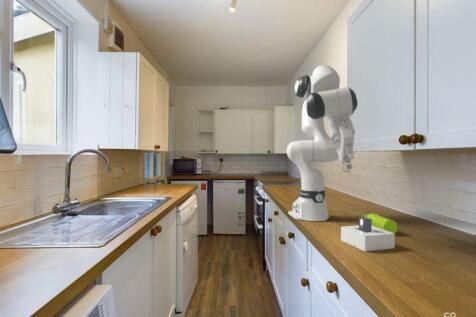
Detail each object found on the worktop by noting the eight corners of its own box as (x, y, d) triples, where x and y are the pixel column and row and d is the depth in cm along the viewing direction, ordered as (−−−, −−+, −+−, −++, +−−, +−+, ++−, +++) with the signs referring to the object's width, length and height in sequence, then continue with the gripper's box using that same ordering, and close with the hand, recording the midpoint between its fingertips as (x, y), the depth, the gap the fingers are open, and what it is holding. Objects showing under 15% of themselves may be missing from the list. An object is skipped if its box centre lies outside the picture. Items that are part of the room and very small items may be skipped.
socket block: (340, 240, 98) (341, 226, 98) (368, 237, 101) (368, 224, 101) (364, 251, 86) (364, 236, 86) (394, 248, 90) (394, 233, 90)
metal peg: (356, 243, 94) (356, 218, 94) (364, 242, 96) (364, 217, 96) (365, 247, 91) (365, 220, 91) (374, 245, 92) (374, 219, 92)
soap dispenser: (402, 226, 105) (374, 215, 125) (388, 217, 105) (362, 207, 125) (395, 239, 105) (367, 226, 125) (380, 230, 105) (355, 218, 125)
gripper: (352, 115, 94) (362, 148, 88) (349, 143, 111) (357, 173, 105) (333, 118, 96) (342, 152, 89) (333, 146, 113) (340, 175, 106)
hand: (350, 163), depth 97 cm, fingers open, 8 cm apart
